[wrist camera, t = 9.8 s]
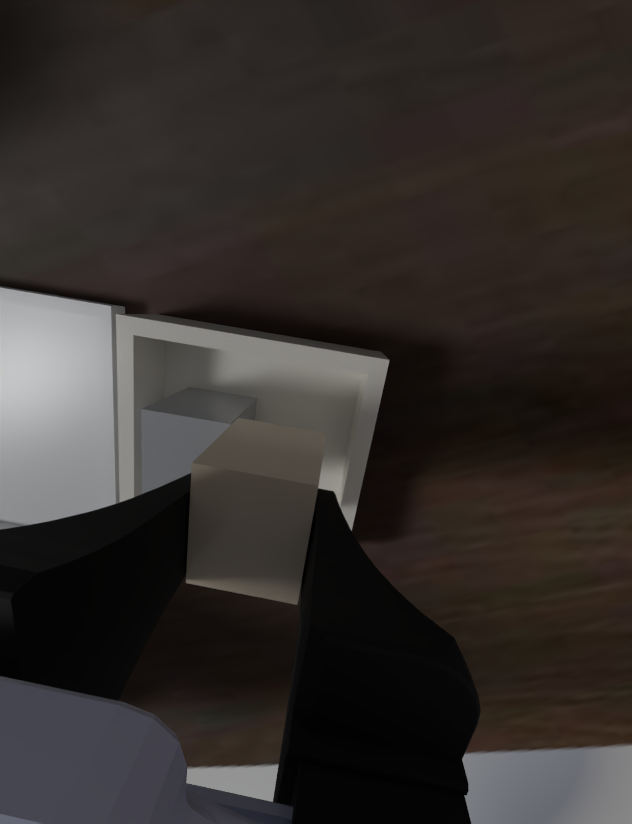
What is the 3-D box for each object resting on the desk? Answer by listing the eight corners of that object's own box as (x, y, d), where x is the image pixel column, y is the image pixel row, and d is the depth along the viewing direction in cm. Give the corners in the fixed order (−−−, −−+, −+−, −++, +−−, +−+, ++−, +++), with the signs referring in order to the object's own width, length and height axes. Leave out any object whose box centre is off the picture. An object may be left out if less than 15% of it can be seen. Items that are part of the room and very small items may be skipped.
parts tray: (127, 547, 20) (117, 559, 19) (-30, 517, 20) (-49, 527, 19) (124, 306, 16) (110, 306, 15) (-73, 273, 16) (-99, 270, 15)
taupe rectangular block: (310, 523, 14) (297, 604, 10) (230, 508, 14) (185, 582, 10) (326, 433, 12) (318, 485, 9) (238, 417, 13) (191, 462, 9)
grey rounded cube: (249, 471, 17) (222, 516, 13) (186, 460, 17) (141, 501, 14) (257, 398, 16) (230, 423, 12) (189, 386, 16) (141, 408, 12)
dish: (340, 543, 19) (339, 584, 16) (154, 508, 19) (120, 542, 16) (381, 351, 15) (389, 359, 13) (157, 314, 16) (115, 313, 13)
